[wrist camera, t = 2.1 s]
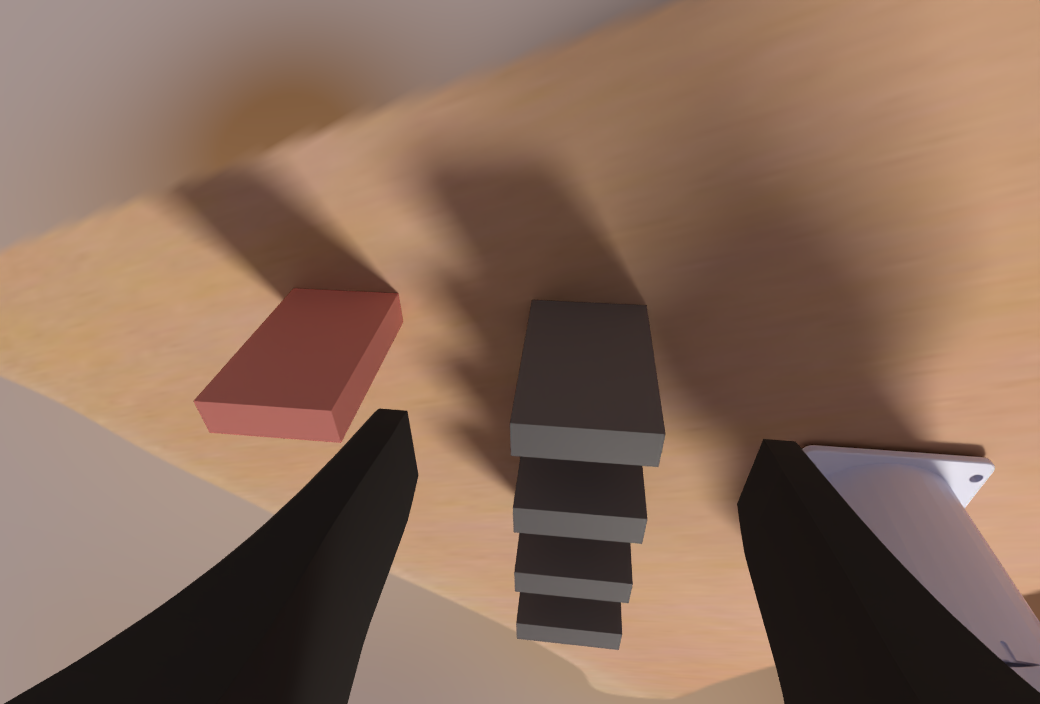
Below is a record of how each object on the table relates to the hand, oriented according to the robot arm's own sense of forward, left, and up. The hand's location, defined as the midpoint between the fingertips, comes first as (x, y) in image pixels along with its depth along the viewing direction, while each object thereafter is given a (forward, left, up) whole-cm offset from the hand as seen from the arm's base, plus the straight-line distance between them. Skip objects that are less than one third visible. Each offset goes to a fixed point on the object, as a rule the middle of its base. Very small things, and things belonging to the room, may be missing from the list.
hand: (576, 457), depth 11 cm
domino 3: (-11, 0, -11) cm, 16 cm away
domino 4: (-15, 0, -11) cm, 19 cm away
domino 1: (-3, 0, -11) cm, 11 cm away
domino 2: (-7, 0, -11) cm, 13 cm away
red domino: (-3, +10, -11) cm, 15 cm away
